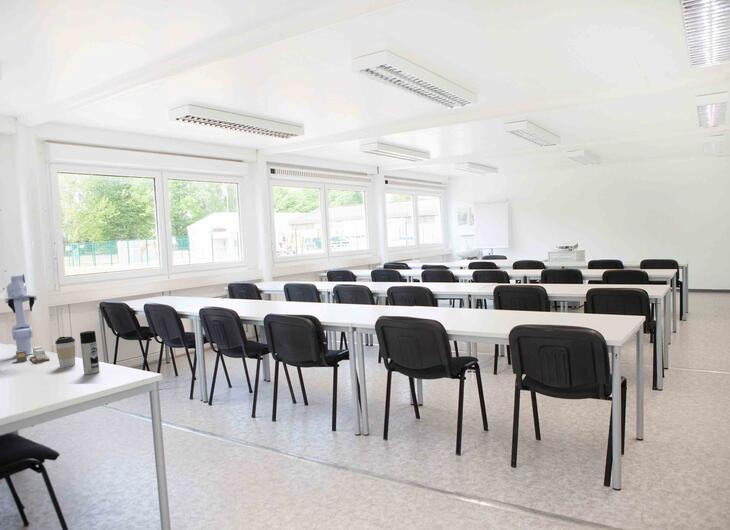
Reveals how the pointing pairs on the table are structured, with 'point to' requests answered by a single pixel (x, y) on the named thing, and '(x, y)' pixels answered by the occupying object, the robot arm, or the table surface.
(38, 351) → the cream blocky elongated piece
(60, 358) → the coffee cup
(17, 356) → the block
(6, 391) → the table surface
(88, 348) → the spray can
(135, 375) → the table surface
